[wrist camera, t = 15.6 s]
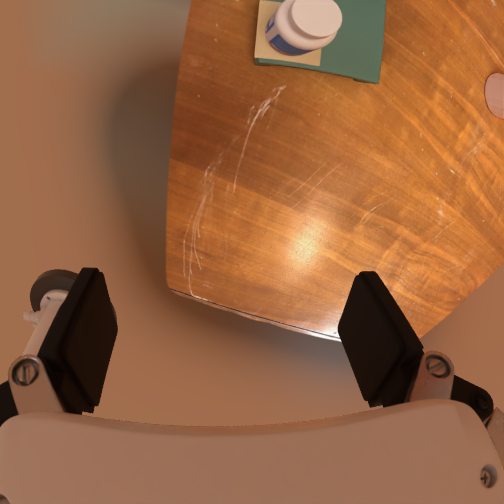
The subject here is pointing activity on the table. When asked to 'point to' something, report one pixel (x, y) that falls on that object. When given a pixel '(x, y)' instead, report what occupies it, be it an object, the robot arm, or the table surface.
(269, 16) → the green toy chair
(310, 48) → the pill bottle
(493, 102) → the mug
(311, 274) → the table surface
